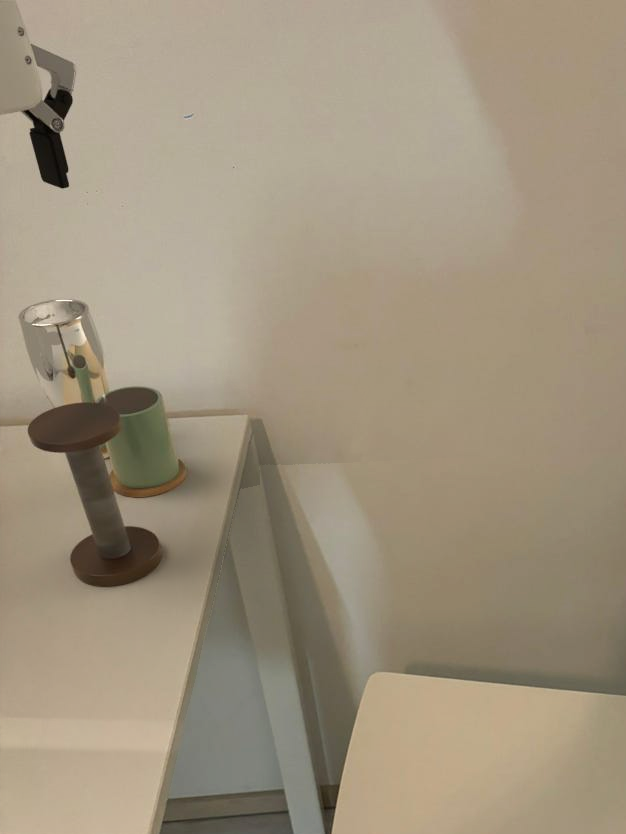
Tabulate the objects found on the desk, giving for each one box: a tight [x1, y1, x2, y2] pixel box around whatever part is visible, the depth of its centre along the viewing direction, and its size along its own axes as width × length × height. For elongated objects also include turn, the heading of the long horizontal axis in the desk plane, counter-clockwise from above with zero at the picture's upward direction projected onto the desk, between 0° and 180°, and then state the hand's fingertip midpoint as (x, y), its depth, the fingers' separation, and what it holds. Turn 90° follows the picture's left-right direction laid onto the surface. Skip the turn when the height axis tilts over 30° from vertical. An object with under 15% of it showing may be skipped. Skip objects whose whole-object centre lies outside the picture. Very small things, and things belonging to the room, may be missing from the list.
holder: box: [27, 402, 163, 587], centre depth 81 cm, size 8×8×14 cm
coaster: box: [109, 458, 187, 498], centre depth 97 cm, size 8×8×1 cm
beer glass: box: [18, 298, 110, 460], centre depth 97 cm, size 7×7×15 cm
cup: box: [95, 385, 180, 489], centre depth 94 cm, size 6×6×8 cm
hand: (0, 197), depth 75 cm, fingers open, 9 cm apart
